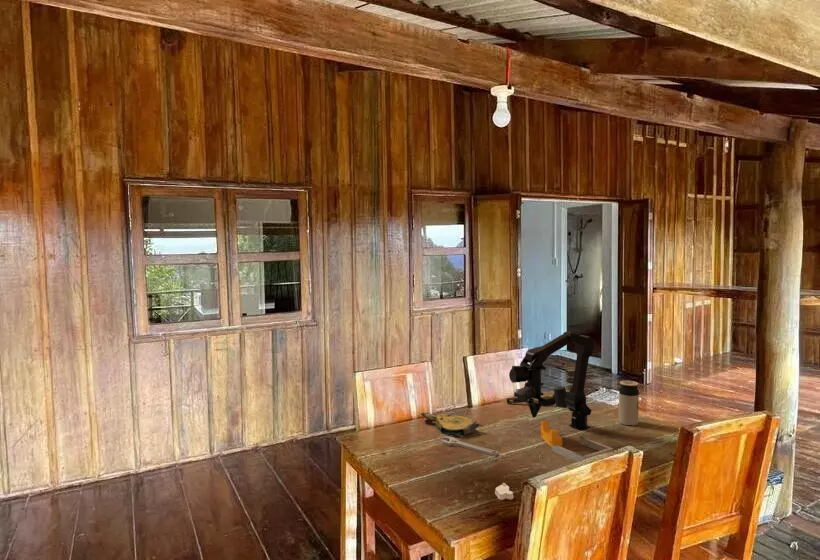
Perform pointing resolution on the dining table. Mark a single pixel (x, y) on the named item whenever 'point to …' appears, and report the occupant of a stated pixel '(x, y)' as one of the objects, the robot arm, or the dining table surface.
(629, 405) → the travel mug
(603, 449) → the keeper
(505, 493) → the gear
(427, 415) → the pulley block
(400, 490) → the dining table surface
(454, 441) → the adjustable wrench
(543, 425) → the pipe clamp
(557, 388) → the mallet
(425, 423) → the dining table surface
